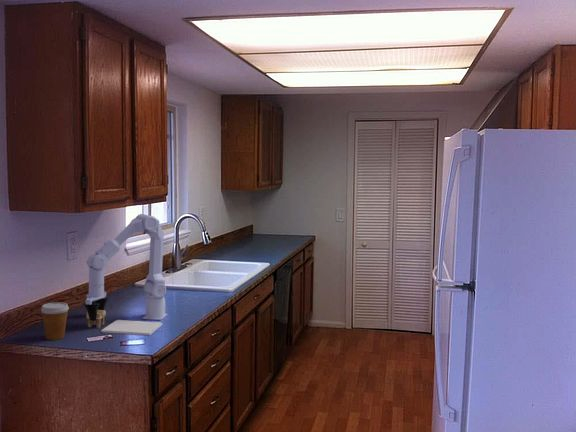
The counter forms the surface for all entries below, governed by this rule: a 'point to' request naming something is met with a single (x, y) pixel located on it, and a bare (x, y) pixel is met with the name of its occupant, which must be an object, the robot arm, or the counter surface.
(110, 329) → the cutting board
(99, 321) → the stool
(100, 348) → the counter surface
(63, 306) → the disposable coffee cup
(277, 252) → the counter surface
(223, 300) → the counter surface
